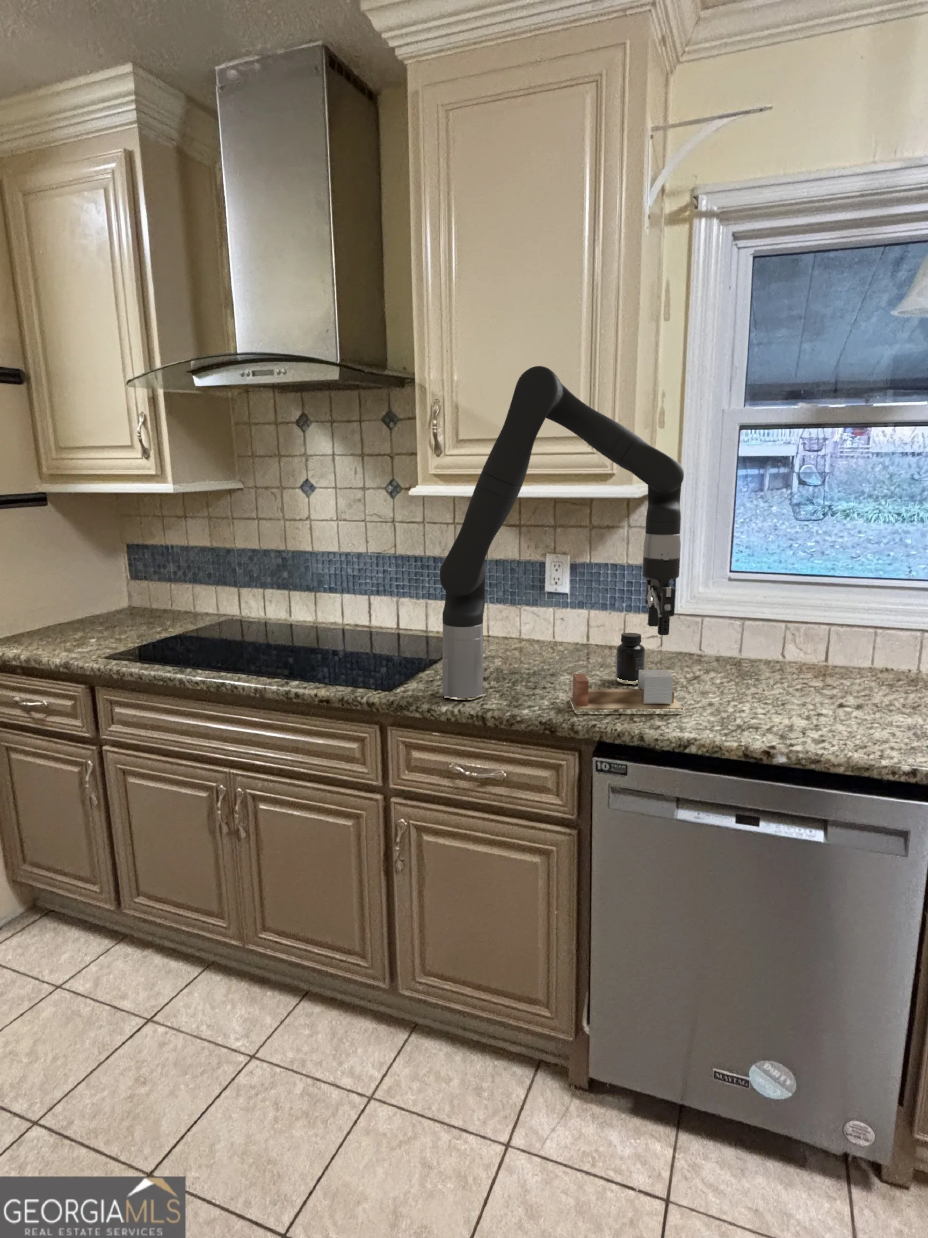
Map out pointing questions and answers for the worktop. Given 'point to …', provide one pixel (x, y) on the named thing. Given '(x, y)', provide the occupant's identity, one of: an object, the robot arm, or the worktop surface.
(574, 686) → the rail
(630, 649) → the supplement bottle
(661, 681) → the block
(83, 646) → the worktop surface
